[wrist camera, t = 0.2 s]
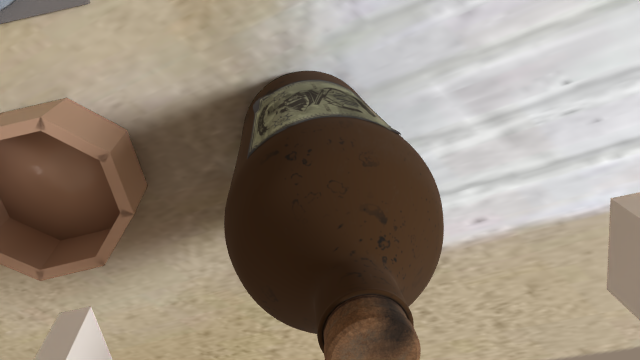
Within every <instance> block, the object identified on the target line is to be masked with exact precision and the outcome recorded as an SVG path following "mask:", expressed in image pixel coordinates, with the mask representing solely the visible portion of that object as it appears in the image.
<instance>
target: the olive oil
mask: <svg viewBox="0 0 640 360" xmlns="http://www.w3.org/2000/svg"><path fill="white" fill-rule="evenodd" d="M399 134H400V133H399V132H398V131H396V130H394V129H392V128H391V127H390V126H389V125H388V124H387V123H386V122H385V121H384V120H382V119H381V118H380V117H379V116H378V115H377V114H376V113H375V112H374V111H373V110H372V109H371V108H370V107H369V106H368V105H367V104H366V103H365V102H364V101H363V100H362V99H361V97H360V96H359V95H358V94H357V93H356V92H355V91H354V90H353V89H352V88H351V87H350V86H349V85H347V84H346V83H345V82H343V81H342V80H340V79H338V78H336V77H334V76H332V75H329V74H326V73H322V72H317V71H299V72H294V73H290V74H287V75H284V76H281V77H279V78H277V79H276V80H274V81H272V82H271V83H269V84H268V85H267V86H266V87H264V88H263V89H262V90H261V91H260V92H259V93H258V95H257V96H256V97H255V99H254V100H253V102H252V103H251V105H250V107H249V109H248V112H247V115H246V118H245V122H244V127H243V133H242V139H241V145H240V149H239V153H238V158H237V162H236V166H235V170H234V174H233V178H232V182H231V186H230V190H229V194H228V198H227V203H226V209H225V219H224V228H225V239H226V245H227V249H228V253H229V256H230V259H231V262H232V265H233V267H234V269H235V271H236V273H237V275H238V277H239V279H240V281H241V282H242V284H243V286H244V287H245V289H246V290H247V292H248V293H249V294H250V296H251V297H252V298H253V299H254V300H255V301H256V302H257V304H258V305H259V306H260V307H262V308H263V309H264V310H265V311H266V312H267V313H269V314H270V315H271V316H273V317H274V318H276V319H277V320H279V321H281V322H283V323H285V324H287V325H289V326H291V327H293V328H296V329H299V330H302V331H306V332H310V333H315V334H317V336H318V342H319V345H320V348H321V350H322V351H323V353H324V356H325V360H419V359H420V343H419V339H418V337H417V334H416V332H415V330H414V327H413V317H412V314H411V311H410V309H409V306H410V305H411V304H412V303H413V302H414V301H415V300H416V299H417V297H418V296H419V295H420V294H421V293H422V291H423V290H424V289H425V287H426V286H427V284H428V283H429V281H430V279H431V277H432V275H433V273H434V271H435V269H436V266H437V264H438V261H439V258H440V254H441V249H442V244H443V232H444V224H443V211H442V204H441V199H440V195H439V191H438V188H437V185H436V183H435V180H434V178H433V176H432V174H431V172H430V170H429V168H428V167H427V165H426V163H425V162H424V161H423V159H422V158H421V157H420V155H419V154H418V153H417V152H416V151H415V149H414V148H413V147H412V146H411V145H410V144H409V143H408V142H406V141H405V140H404V139H403V138H402V137H401V136H400V135H401V134H400V135H399Z"/></svg>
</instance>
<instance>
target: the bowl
mask: <svg viewBox="0 0 640 360" xmlns="http://www.w3.org/2000/svg"><path fill="white" fill-rule="evenodd" d="M146 188H147V183H146V180H145V177H144V175H143V172H142V169H141V167H140V164H139V161H138V158H137V156H136V153H135V150H134V147H133V145H132V142H131V139H130V137H129V134H128V131H127V130H126V129H124V128H122V127H121V126H119V125H117V124H115V123H113V122H111V121H109V120H107V119H106V118H104V117H102V116H100V115H98V114H96V113H94V112H92V111H91V110H89V109H87V108H85V107H83V106H81V105H79V104H77V103H76V102H74V101H72V100H70V99H68V98H64V99H60V100H55V101H51V102H47V103H43V104H38V105H34V106H30V107H25V108H21V109H17V110H12V111H8V112H4V113H2V114H0V264H2V265H4V266H6V267H9V268H11V269H14V270H16V271H18V272H21V273H23V274H25V275H28V276H30V277H32V278H35V279H37V280H39V281H42V280H46V279H50V278H54V277H58V276H63V275H67V274H71V273H75V272H79V271H83V270H88V269H92V268H96V267H100V266H104V265H105V263H106V262H107V260H108V258H109V257H110V255H111V253H112V251H113V250H114V248H115V246H116V245H117V243H118V241H119V239H120V238H121V236H122V234H123V232H124V231H125V229H126V227H127V226H128V224H129V222H130V220H131V219H132V217H133V215H134V214H135V212H136V209H137V207H138V205H139V203H140V201H141V199H142V197H143V195H144V192H145V190H146Z"/></svg>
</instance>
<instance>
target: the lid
mask: <svg viewBox="0 0 640 360" xmlns="http://www.w3.org/2000/svg"><path fill="white" fill-rule="evenodd" d="M15 1H16V0H0V11H2V10H4V9H5V8H7V7H8V6H10V5H11V4H13V3H14V2H15Z"/></svg>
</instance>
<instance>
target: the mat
mask: <svg viewBox="0 0 640 360" xmlns="http://www.w3.org/2000/svg"><path fill="white" fill-rule="evenodd" d="M89 3H90V1H89V0H16V1H15V2H14V3H13V4H11V5H10V6H8V7H7V8H5V9H4V10H2V11H0V24H1V23H6V22H10V21H14V20H19V19H23V18H28V17H32V16H36V15H41V14H45V13H49V12H54V11H58V10H63V9H67V8H71V7H76V6H80V5H85V4H89Z"/></svg>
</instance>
